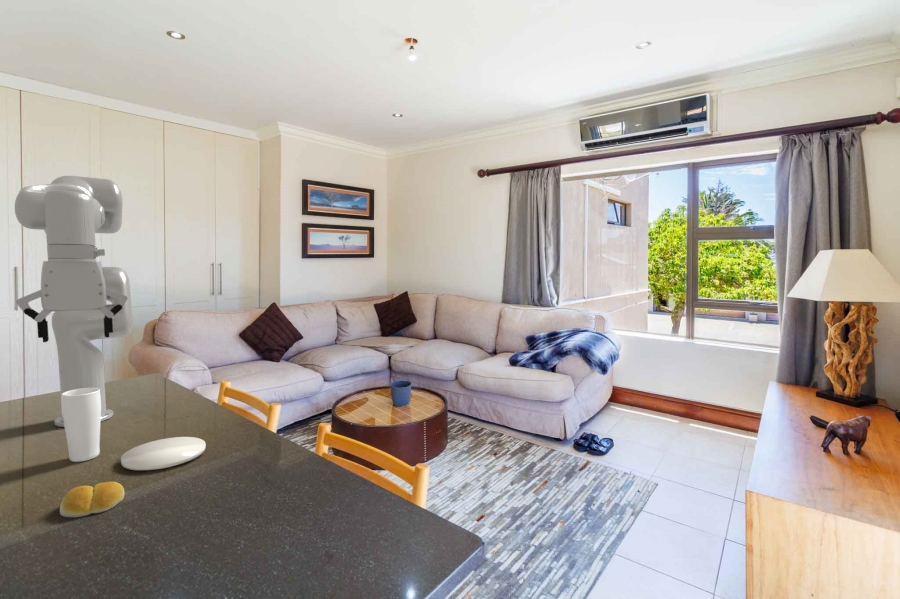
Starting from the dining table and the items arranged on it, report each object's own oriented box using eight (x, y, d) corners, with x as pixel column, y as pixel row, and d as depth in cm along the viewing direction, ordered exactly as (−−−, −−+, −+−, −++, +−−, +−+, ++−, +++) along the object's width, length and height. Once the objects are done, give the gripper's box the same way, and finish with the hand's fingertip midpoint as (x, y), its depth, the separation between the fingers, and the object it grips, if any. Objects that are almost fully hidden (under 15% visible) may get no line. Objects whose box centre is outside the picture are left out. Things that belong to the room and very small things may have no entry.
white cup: (82, 465, 97) (78, 396, 96) (56, 462, 98) (52, 394, 97) (111, 453, 104) (108, 388, 103) (87, 450, 105) (83, 386, 104)
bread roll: (123, 509, 81) (122, 487, 80) (57, 524, 76) (56, 501, 75) (126, 489, 87) (125, 469, 87) (65, 502, 83) (64, 481, 82)
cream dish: (119, 454, 103) (118, 447, 103) (198, 437, 113) (198, 431, 113) (123, 480, 91) (123, 473, 90) (212, 459, 101) (212, 452, 100)
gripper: (124, 255, 100) (127, 332, 101) (15, 253, 89) (21, 340, 90) (126, 254, 94) (130, 337, 95) (10, 253, 83) (16, 346, 84)
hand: (77, 338), depth 93 cm, fingers open, 9 cm apart
